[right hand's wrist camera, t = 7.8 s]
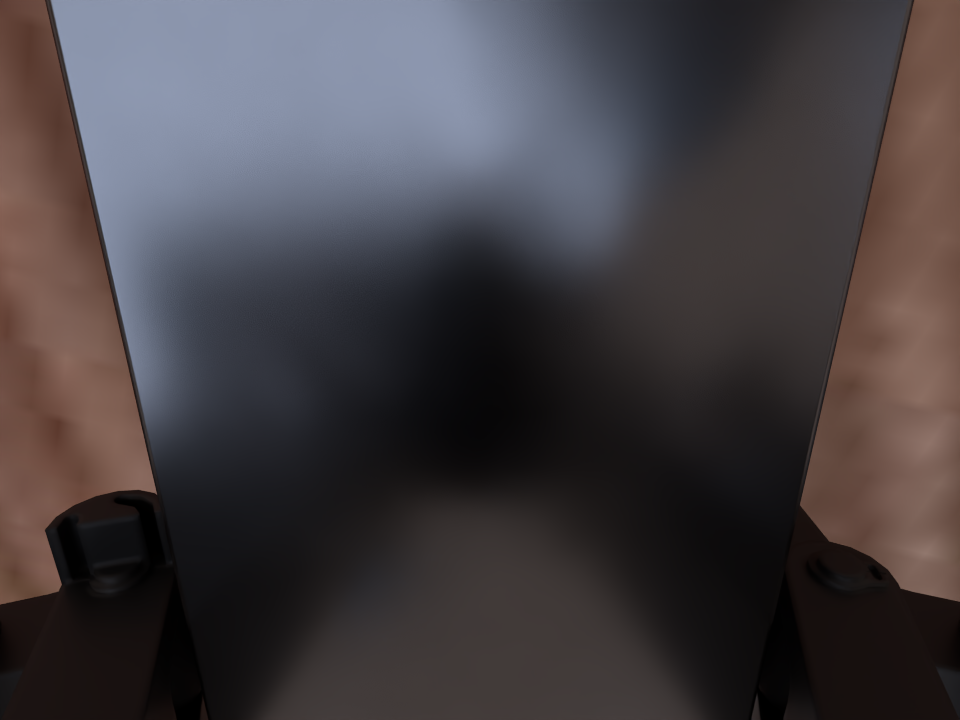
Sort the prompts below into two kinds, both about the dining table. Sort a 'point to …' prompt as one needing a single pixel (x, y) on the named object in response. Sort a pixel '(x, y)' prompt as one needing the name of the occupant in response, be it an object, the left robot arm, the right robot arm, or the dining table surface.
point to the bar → (479, 332)
